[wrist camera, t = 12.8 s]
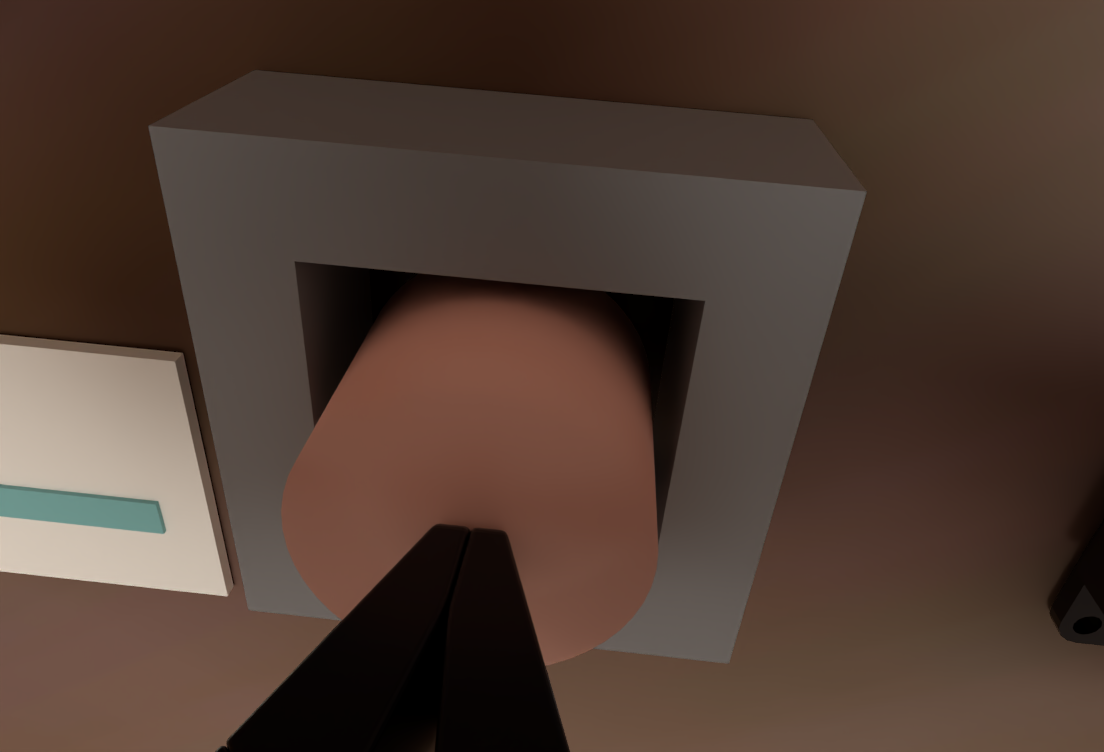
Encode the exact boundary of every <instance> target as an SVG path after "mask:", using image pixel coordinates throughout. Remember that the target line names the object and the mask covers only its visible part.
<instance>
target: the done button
mask: <svg viewBox="0 0 1104 752" xmlns="http://www.w3.org/2000/svg"><path fill="white" fill-rule="evenodd" d="M281 517H282V530H283V534H284V538H285V542H286V546H287V549H288V551H289V554H290V556H291V558H292V561H293V563H294V565H295V567H296V569H297V570H298V572H299V574H300V575H301V577H302V579H303V580H304V582H305V583H306V584H307V586H308V587H309V588H310V589H311V591H312V592H313V593H314V595H315V596H316V597H317V598H318V599H319V600H320V601H321V602H322V603H323V604H324V605H325V606H326V607H327V608H328V609H329V610H330V611H331V612H332V613H334V614H335V615H336V616H337V617H338V618H340V619H341V620H343V619H344V618H345V617H346V616H347V615H348V614H349V613H350V612H351V610H352V609H353V608H354V607H355V606H356V605H357V604H358V603H359V602H360V601H361V600H362V599H363V598H364V597H365V596H366V595H367V594H368V593H369V592H370V591H371V590H372V589H373V588H374V587H375V585H376V584H377V583H378V582H379V581H380V580H381V579H382V578H383V577H384V576H385V575H386V574H387V573H388V572H389V571H390V570H391V569H392V568H393V567H394V566H395V565H396V564H397V563H398V562H399V561H400V559H401V558H402V557H403V556H404V555H405V554H406V553H407V552H408V551H409V550H410V549H411V548H412V547H413V546H414V545H415V544H416V543H417V542H418V541H419V540H420V539H421V538H422V537H423V536H424V534H425V533H426V532H427V531H428V530H429V529H430V528H431V527H432V526H434V525H436V524H449V525H458V526H465V527H467V528H468V529H469V530H470V532H471V531H472V530H473V529H474V528H487V529H496V530H503V531H505V532H506V533H507V535H508V537H509V541H510V544H511V548H512V551H513V555H514V558H515V561H516V565H517V568H518V572H519V575H520V579H521V582H522V586H523V589H524V593H525V596H526V600H527V603H528V607H529V610H530V614H531V617H532V621H533V624H534V628H535V631H536V635H537V638H538V642H539V645H540V649H541V652H542V656H543V659H544V663H545V666H547V665H551V664H555V663H558V662H561V661H565V660H568V659H571V658H573V657H576V656H578V655H580V654H583V653H585V652H587V651H589V650H591V649H593V648H595V647H596V646H598V645H600V644H602V643H603V642H605V641H607V640H608V639H609V638H610V637H612V636H613V635H614V634H616V633H617V632H618V631H620V630H621V629H622V628H623V627H624V626H625V625H626V624H627V623H628V622H629V621H630V620H631V619H632V618H633V617H634V615H635V614H636V612H637V611H638V610H639V608H640V607H641V606H642V604H643V603H644V601H645V599H646V597H647V595H648V593H649V591H650V589H651V587H652V583H653V580H654V577H655V573H656V570H657V560H658V531H657V509H656V487H655V465H654V443H653V421H652V399H651V380H650V368H649V363H648V359H647V355H646V351H645V349H644V346H643V344H642V341H641V339H640V336H639V334H638V332H637V331H636V329H635V327H634V326H633V324H632V322H631V320H630V319H629V318H628V317H627V315H626V314H625V313H624V311H623V310H622V309H621V308H620V306H619V305H618V304H617V303H616V302H615V301H614V300H613V299H612V298H611V297H610V296H609V295H608V294H606V293H605V292H604V291H597V290H587V289H577V288H566V287H556V286H546V285H535V284H525V283H515V282H504V281H494V280H484V279H473V278H463V277H453V276H442V275H432V274H421V273H419V274H417V275H416V276H415V277H413V278H412V279H410V280H409V281H408V282H406V283H405V284H404V285H402V286H401V287H400V288H399V289H398V290H397V291H396V292H395V293H394V294H393V295H392V296H391V297H390V299H389V300H388V301H387V303H386V304H385V305H384V307H383V308H382V309H381V311H380V313H379V315H378V316H377V318H376V320H375V322H374V323H373V325H372V327H371V329H370V330H369V332H368V334H367V336H366V337H365V339H364V341H363V343H362V345H361V346H360V348H359V350H358V352H357V353H356V355H355V357H354V359H353V360H352V362H351V364H350V366H349V368H348V369H347V371H346V373H345V375H344V376H343V378H342V380H341V382H340V383H339V385H338V387H337V389H336V391H335V392H334V394H333V396H332V398H331V399H330V401H329V403H328V405H327V406H326V408H325V410H324V412H323V413H322V415H321V417H320V419H319V421H318V422H317V424H316V426H315V428H314V429H313V431H312V433H311V435H310V436H309V438H308V440H307V442H306V444H305V445H304V447H303V449H302V451H301V452H300V454H299V456H298V458H297V460H296V461H295V463H294V465H293V467H292V469H291V471H290V473H289V475H288V478H287V481H286V485H285V488H284V491H283V498H282V507H281Z"/></svg>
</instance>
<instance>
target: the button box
mask: <svg viewBox="0 0 1104 752" xmlns="http://www.w3.org/2000/svg"><path fill="white" fill-rule="evenodd" d="M148 127H149V132H150V137H151V142H152V147H153V151H154V156H155V161H156V166H157V171H158V176H159V180H160V185H161V190H162V195H163V200H164V204H165V209H166V214H167V219H168V224H169V229H170V233H171V238H172V243H173V248H174V253H175V258H176V262H177V267H178V272H179V277H180V282H181V286H182V291H183V296H184V301H185V306H186V311H187V315H188V320H189V325H190V330H191V335H192V340H193V344H194V349H195V354H196V359H197V364H198V369H199V373H200V378H201V383H202V388H203V393H204V397H205V402H206V407H207V412H208V417H209V422H210V426H211V431H212V436H213V441H214V446H215V451H216V455H217V460H218V465H219V470H220V475H221V480H222V484H223V489H224V494H225V499H226V504H227V508H228V513H229V518H230V523H231V528H232V533H233V537H234V542H235V547H236V552H237V557H238V562H239V566H240V571H241V576H242V581H243V586H244V590H245V595H246V600H247V605H248V610H252V611H261V612H270V613H279V614H288V615H297V616H306V617H315V618H324V619H333V620H341V619H340V618H338V617H337V616H336V615H335V614H334V613H332V612H331V611H330V610H329V609H328V608H327V607H326V606H325V605H324V604H323V603H322V602H321V601H320V600H319V599H318V598H317V597H316V596H315V595H314V593H313V592H312V591H311V589H310V588H309V587H308V586H307V584H306V583H305V582H304V580H303V579H302V577H301V575H300V574H299V572H298V570H297V569H296V567H295V565H294V563H293V561H292V558H291V556H290V554H289V551H288V549H287V546H286V542H285V538H284V534H283V530H282V517H281V507H282V498H283V491H284V488H285V485H286V481H287V478H288V475H289V473H290V471H291V469H292V467H293V465H294V463H295V461H296V460H297V458H298V456H299V454H300V452H301V451H302V449H303V447H304V445H305V444H306V442H307V440H308V438H309V436H310V435H311V433H312V431H313V429H314V428H315V426H316V424H317V422H318V421H319V419H320V417H321V415H322V413H323V412H324V410H325V408H326V406H327V405H328V403H329V401H330V399H331V398H332V396H333V394H334V392H335V391H336V389H337V387H338V385H339V383H340V382H341V380H342V378H343V376H344V375H345V373H346V371H347V369H348V368H349V366H350V364H351V362H352V360H353V359H354V357H355V355H356V353H357V352H358V350H359V348H360V346H361V345H362V343H363V341H364V339H365V337H366V336H367V334H368V332H369V330H370V329H371V327H372V325H373V318H372V303H371V287H370V271H369V268H370V269H380V270H390V271H401V272H411V273H421V274H432V275H442V276H453V277H463V278H473V279H484V280H494V281H504V282H515V283H525V284H535V285H546V286H556V287H566V288H577V289H587V290H597V291H608V292H618V293H628V294H639V295H649V296H660V297H670V298H674V303H673V309H672V315H671V321H670V326H669V332H668V338H667V344H666V350H665V356H664V362H663V368H662V374H661V380H660V386H659V392H658V398H657V404H656V410H655V415H654V421H653V443H654V465H655V487H656V509H657V531H658V560H657V570H656V573H655V577H654V580H653V583H652V587H651V589H650V591H649V593H648V595H647V597H646V599H645V601H644V603H643V604H642V606H641V607H640V608H639V610H638V611H637V612H636V614H635V615H634V617H633V618H632V619H631V620H630V621H629V622H628V623H627V624H626V625H625V626H624V627H623V628H622V629H621V630H620V631H618V632H617V633H616V634H614V635H613V636H612V637H610V638H609V639H608V640H607V641H605V642H603V643H602V644H600V645H598V646H596V647H595V648H593V649H602V650H611V651H620V652H629V653H638V654H647V655H656V656H665V657H674V658H683V659H692V660H701V661H710V662H719V663H728V664H729V661H730V658H731V655H732V651H733V648H734V644H735V641H736V637H737V634H738V631H739V627H740V624H741V620H742V617H743V614H744V610H745V607H746V603H747V600H748V596H749V593H750V590H751V586H752V583H753V579H754V576H755V572H756V569H757V566H758V562H759V559H760V555H761V552H762V548H763V545H764V542H765V538H766V535H767V531H768V528H769V525H770V521H771V518H772V514H773V511H774V507H775V504H776V501H777V497H778V494H779V490H780V487H781V483H782V480H783V477H784V473H785V470H786V466H787V463H788V460H789V456H790V453H791V449H792V446H793V442H794V439H795V436H796V432H797V429H798V425H799V422H800V418H801V415H802V412H803V408H804V405H805V401H806V398H807V395H808V391H809V388H810V384H811V381H812V377H813V374H814V371H815V367H816V364H817V360H818V357H819V353H820V350H821V347H822V343H823V340H824V336H825V333H826V330H827V326H828V323H829V319H830V316H831V312H832V309H833V306H834V302H835V299H836V295H837V292H838V288H839V285H840V282H841V278H842V275H843V271H844V268H845V265H846V261H847V258H848V254H849V251H850V247H851V244H852V241H853V237H854V234H855V230H856V227H857V223H858V220H859V217H860V213H861V210H862V206H863V203H864V200H865V196H866V193H867V191H866V190H865V189H864V187H863V186H862V185H861V183H860V182H859V181H858V179H857V178H856V177H855V175H854V174H853V173H852V171H851V170H850V169H849V167H848V166H847V165H846V163H845V162H844V161H843V159H842V158H841V157H840V155H839V154H838V153H837V151H836V150H835V149H834V147H833V146H832V145H831V143H830V142H829V141H828V139H827V138H826V137H825V135H824V134H823V133H822V131H821V130H820V129H819V127H818V126H817V125H816V123H815V122H814V121H813V120H812V119H801V118H790V117H778V116H767V115H756V114H745V113H733V112H722V111H711V110H700V109H688V108H677V107H666V106H655V105H643V104H632V103H621V102H610V101H598V100H587V99H576V98H565V97H553V96H542V95H531V94H520V93H508V92H497V91H486V90H475V89H463V88H452V87H441V86H430V85H418V84H407V83H396V82H385V81H373V80H362V79H351V78H340V77H328V76H317V75H306V74H295V73H283V72H272V71H261V70H254V71H252V72H250V73H248V74H246V75H244V76H242V77H240V78H238V79H236V80H234V81H233V82H231V83H229V84H227V85H225V86H223V87H221V88H219V89H217V90H215V91H213V92H212V93H210V94H208V95H206V96H204V97H202V98H200V99H198V100H196V101H194V102H193V103H191V104H189V105H187V106H185V107H183V108H181V109H179V110H177V111H175V112H173V113H172V114H170V115H168V116H166V117H164V118H162V119H160V120H158V121H156V122H154V123H152V124H151V125H149V126H148Z"/></svg>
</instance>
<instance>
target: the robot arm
mask: <svg viewBox="0 0 1104 752" xmlns="http://www.w3.org/2000/svg"><path fill="white" fill-rule="evenodd" d="M1050 616H1051V619H1052V621H1053V622H1054V624H1055V626H1056V628H1057V629H1058V631H1059V633H1060V635H1061V636H1062V637H1064V638H1065V639H1066V640H1068V641H1072V642H1076V643H1085V644H1094V645H1103V646H1104V519H1103V521H1102V523H1101V524H1100V526H1099V528H1098V530H1097V531H1096V533H1095V535H1094V536H1093V538H1092V540H1091V541H1090V543H1089V545H1088V546H1087V548H1086V550H1085V551H1084V553H1083V555H1082V556H1081V558H1080V560H1079V561H1078V563H1077V565H1076V566H1075V568H1074V570H1073V571H1072V573H1071V575H1070V576H1069V578H1068V580H1067V581H1066V583H1065V585H1064V586H1063V588H1062V590H1061V591H1060V593H1059V595H1058V596H1057V598H1056V600H1055V601H1054V603H1053V605H1052V606H1051V610H1050ZM215 752H570V750H569V747H568V743H567V740H566V736H565V733H564V729H563V726H562V722H561V719H560V715H559V712H558V708H557V705H556V701H555V698H554V694H553V691H552V687H551V684H550V680H549V677H548V673H547V670H546V666H545V663H544V659H543V656H542V652H541V649H540V645H539V642H538V638H537V635H536V631H535V628H534V624H533V621H532V617H531V614H530V610H529V607H528V603H527V600H526V596H525V593H524V589H523V586H522V582H521V579H520V575H519V572H518V568H517V565H516V561H515V558H514V555H513V551H512V548H511V544H510V541H509V537H508V535H507V533H506V532H505V531H503V530H496V529H487V528H474V529H473V530H472V531H471V532H470V530H469V529H468V528H467V527H465V526H458V525H449V524H436V525H434V526H432V527H431V528H430V529H429V530H428V531H427V532H426V533H425V534H424V536H423V537H422V538H421V539H420V540H419V541H418V542H417V543H416V544H415V545H414V546H413V547H412V548H411V549H410V550H409V551H408V552H407V553H406V554H405V555H404V556H403V557H402V558H401V559H400V561H399V562H398V563H397V564H396V565H395V566H394V567H393V568H392V569H391V570H390V571H389V572H388V573H387V574H386V575H385V576H384V577H383V578H382V579H381V580H380V581H379V582H378V583H377V584H376V585H375V587H374V588H373V589H372V590H371V591H370V592H369V593H368V594H367V595H366V596H365V597H364V598H363V599H362V600H361V601H360V602H359V603H358V604H357V605H356V606H355V607H354V608H353V609H352V610H351V612H350V613H349V614H348V615H347V616H346V617H345V618H344V619H343V620H342V621H341V622H340V623H339V624H338V625H337V626H336V627H335V628H334V629H333V630H332V631H331V632H330V633H329V634H328V635H327V636H326V638H325V639H324V640H323V641H322V642H321V643H320V644H319V645H318V646H317V647H316V648H315V649H314V650H313V651H312V652H311V653H310V654H309V655H308V656H307V657H306V658H305V659H304V660H303V661H302V662H301V664H300V665H299V666H298V667H297V668H296V669H295V670H294V671H293V672H292V673H291V674H290V675H289V676H288V677H287V678H286V679H285V680H284V681H283V682H282V683H281V684H280V685H279V686H278V687H277V689H276V690H275V691H274V692H273V693H272V694H271V695H270V696H269V697H268V698H267V699H266V700H265V701H264V702H263V703H262V704H261V705H260V706H259V707H258V708H257V709H256V710H255V711H254V712H253V713H252V715H251V716H250V717H249V718H248V719H247V720H246V721H245V722H244V723H243V724H242V725H241V726H240V727H239V728H238V729H237V730H236V731H235V732H234V733H233V734H232V735H231V736H230V737H229V738H228V740H227V747H225V746H221V747H219V748H218V749H217V750H216V751H215Z"/></svg>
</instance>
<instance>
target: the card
mask: <svg viewBox="0 0 1104 752" xmlns="http://www.w3.org/2000/svg"><path fill="white" fill-rule="evenodd" d="M0 571H3V572H12V573H21V574H30V575H39V576H48V577H57V578H66V579H75V580H84V581H93V582H102V583H111V584H120V585H129V586H138V587H148V588H157V589H166V590H175V591H184V592H193V593H202V594H211V595H220V596H228V595H229V593H230V591H231V590H232V588H233V581H232V576H231V572H230V567H229V563H228V558H227V553H226V549H225V544H224V540H223V535H222V530H221V526H220V521H219V516H218V512H217V507H216V503H215V498H214V493H213V489H212V484H211V480H210V475H209V470H208V466H207V461H206V457H205V452H204V447H203V443H202V438H201V434H200V429H199V424H198V420H197V415H196V411H195V406H194V401H193V397H192V392H191V387H190V383H189V378H188V374H187V369H186V364H185V360H184V355H183V353H179V352H169V351H159V350H149V349H140V348H130V347H120V346H110V345H100V344H90V343H80V342H70V341H60V340H50V339H40V338H30V337H21V336H11V335H1V334H0Z"/></svg>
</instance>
